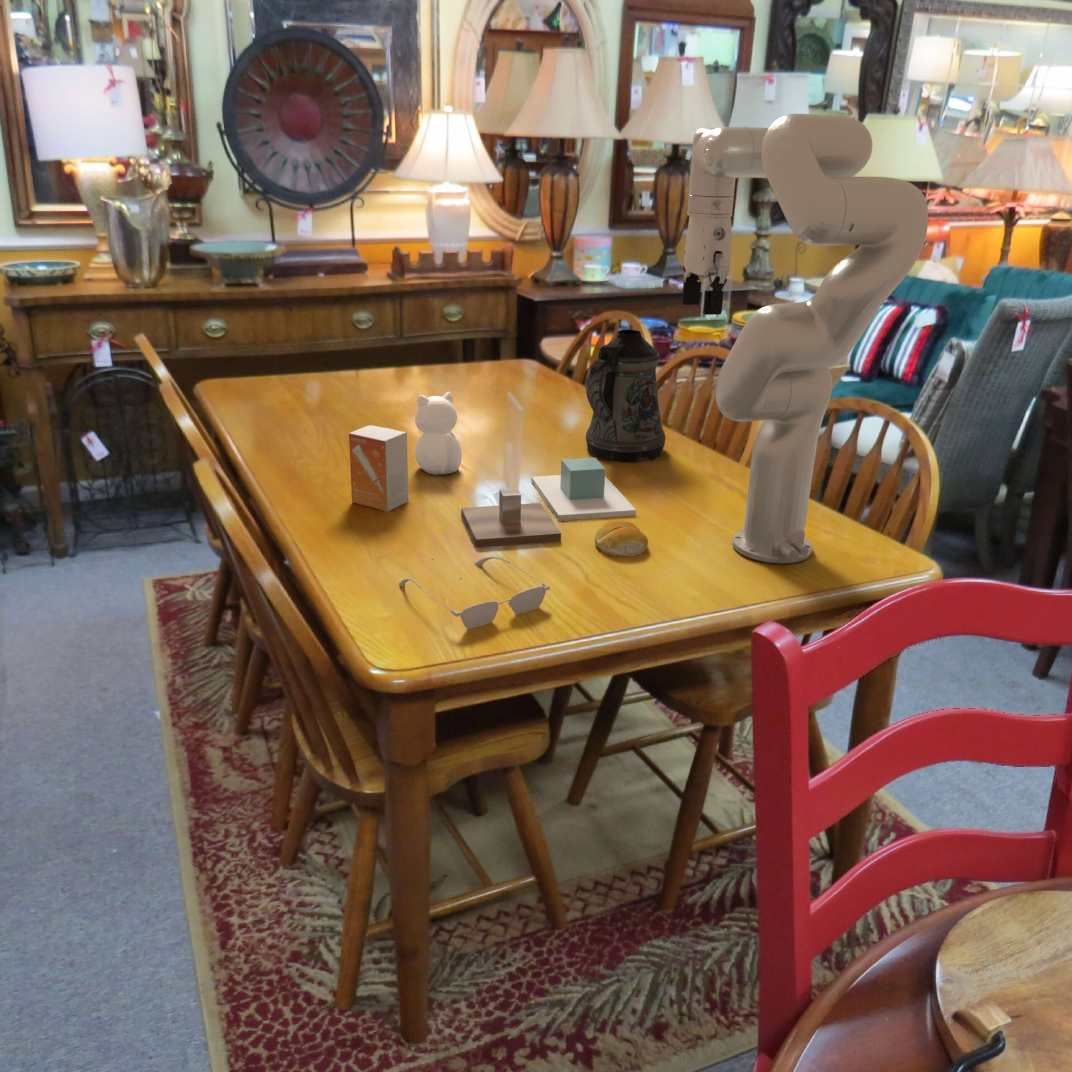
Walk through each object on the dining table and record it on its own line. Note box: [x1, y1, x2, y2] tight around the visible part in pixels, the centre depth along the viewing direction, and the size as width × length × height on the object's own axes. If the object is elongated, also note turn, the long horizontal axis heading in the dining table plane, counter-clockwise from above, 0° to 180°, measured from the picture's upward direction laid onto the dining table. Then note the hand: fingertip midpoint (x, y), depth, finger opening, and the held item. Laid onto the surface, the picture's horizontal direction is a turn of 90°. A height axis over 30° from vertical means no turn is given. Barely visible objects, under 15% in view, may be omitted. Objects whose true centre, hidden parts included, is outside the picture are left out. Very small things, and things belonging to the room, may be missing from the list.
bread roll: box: [594, 519, 649, 557], centre depth 158 cm, size 8×9×4 cm
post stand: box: [460, 488, 562, 549], centre depth 163 cm, size 14×14×6 cm
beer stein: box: [584, 329, 666, 464], centre depth 199 cm, size 16×19×25 cm
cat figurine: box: [414, 391, 463, 476], centre depth 188 cm, size 9×12×15 cm
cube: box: [560, 457, 606, 500], centre depth 177 cm, size 6×6×6 cm
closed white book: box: [530, 474, 637, 522], centre depth 179 cm, size 20×14×1 cm
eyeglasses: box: [398, 556, 551, 630], centre depth 141 cm, size 15×18×4 cm
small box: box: [348, 424, 409, 513], centre depth 172 cm, size 8×6×13 cm
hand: (701, 309), depth 172 cm, fingers open, 9 cm apart
